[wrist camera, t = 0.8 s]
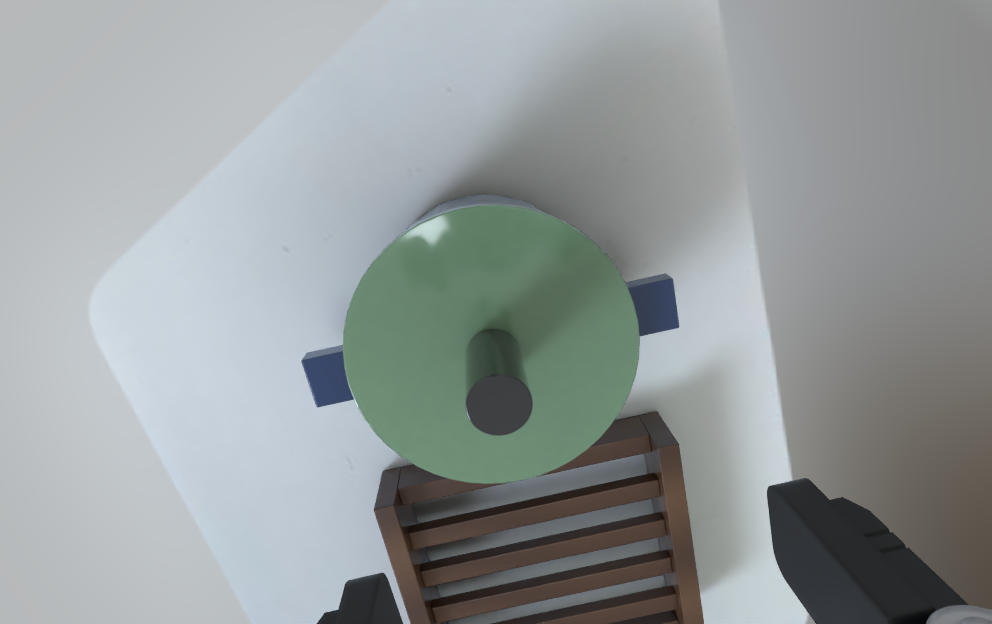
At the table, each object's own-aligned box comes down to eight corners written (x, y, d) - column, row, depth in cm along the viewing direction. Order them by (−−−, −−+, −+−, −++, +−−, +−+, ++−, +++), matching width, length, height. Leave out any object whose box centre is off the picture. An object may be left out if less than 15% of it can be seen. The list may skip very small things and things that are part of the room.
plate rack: (382, 471, 38) (372, 509, 34) (657, 411, 38) (678, 443, 34) (440, 655, 43) (437, 707, 39) (686, 603, 42) (708, 650, 38)
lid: (310, 238, 26) (264, 273, 20) (609, 171, 26) (652, 186, 20) (390, 494, 30) (372, 588, 24) (650, 438, 29) (698, 518, 23)
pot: (311, 231, 34) (262, 266, 25) (616, 162, 33) (664, 175, 25) (369, 417, 37) (342, 501, 29) (645, 357, 37) (697, 424, 29)
